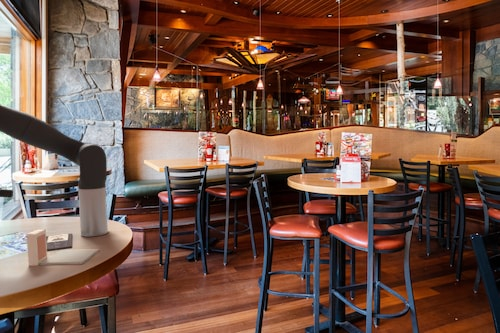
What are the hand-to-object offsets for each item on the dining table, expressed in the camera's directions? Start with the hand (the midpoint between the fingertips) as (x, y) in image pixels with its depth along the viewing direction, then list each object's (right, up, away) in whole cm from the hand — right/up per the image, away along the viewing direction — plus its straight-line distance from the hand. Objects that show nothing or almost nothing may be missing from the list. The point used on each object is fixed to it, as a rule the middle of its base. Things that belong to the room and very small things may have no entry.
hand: (3, 195), depth 103 cm
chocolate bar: (+4, -19, +22) cm, 29 cm away
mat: (+16, -19, +6) cm, 26 cm away
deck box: (+9, -19, +2) cm, 21 cm away
